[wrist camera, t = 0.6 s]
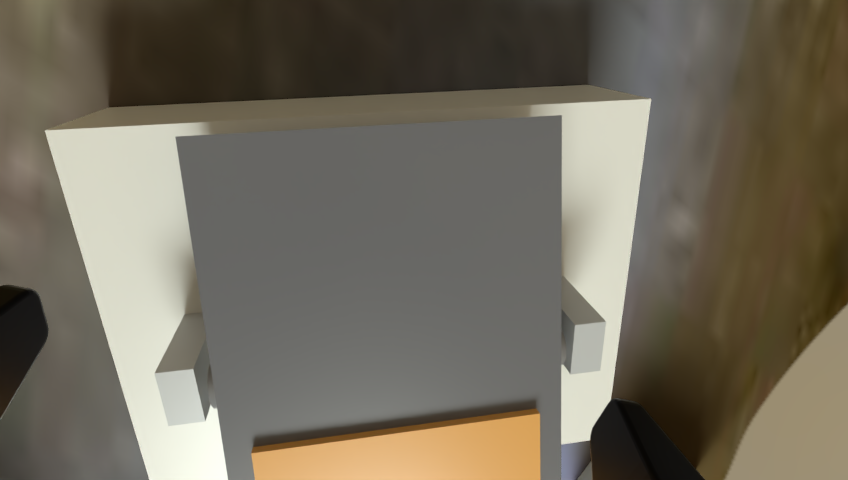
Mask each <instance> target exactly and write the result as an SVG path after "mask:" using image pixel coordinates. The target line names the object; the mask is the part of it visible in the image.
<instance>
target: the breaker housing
mask: <svg viewBox="0 0 848 480" xmlns="http://www.w3.org/2000/svg"><path fill="white" fill-rule="evenodd" d="M650 104H651V99H650V98H645V97H641V96H636V95H632V94H628V93H623V92H619V91H614V90H610V89H605V88H601V87H596V86H592V85H573V86H552V87H531V88H510V89H489V90H467V91H446V92H425V93H404V94H383V95H362V96H340V97H319V98H298V99H277V100H256V101H235V102H213V103H192V104H171V105H150V106H129V107H108V108H105V109H103V110H100V111H97V112H94V113H92V114H89V115H86V116H83V117H81V118H78V119H75V120H72V121H70V122H67V123H64V124H61V125H58V126H56V127H53V128H50V129H47V130H45V133H46V136H47V139H48V143H49V146H50V149H51V153H52V156H53V159H54V163H55V166H56V169H57V173H58V176H59V179H60V183H61V186H62V189H63V193H64V196H65V199H66V203H67V206H68V209H69V213H70V216H71V220H72V223H73V226H74V230H75V233H76V236H77V240H78V243H79V246H80V250H81V253H82V256H83V260H84V263H85V266H86V270H87V273H88V276H89V280H90V283H91V286H92V290H93V293H94V296H95V300H96V303H97V306H98V310H99V313H100V316H101V320H102V323H103V326H104V330H105V333H106V336H107V340H108V343H109V346H110V350H111V353H112V356H113V360H114V363H115V366H116V370H117V373H118V376H119V380H120V383H121V386H122V390H123V393H124V396H125V400H126V403H127V406H128V410H129V413H130V416H131V420H132V423H133V426H134V430H135V433H136V436H137V440H138V443H139V446H140V450H141V453H142V456H143V460H144V463H145V466H146V470H147V473H148V476H149V480H228V476H227V470H226V463H225V457H224V450H223V444H222V437H221V431H220V424H219V418H218V411H217V408H215V409H214V408H213V407H212V406H211V404H210V400H209V396H208V385H207V379H208V369H209V364H210V359H209V353H208V346H207V340H206V333H205V327H204V320H203V314H202V307H201V301H200V294H199V288H198V281H197V275H196V268H195V262H194V255H193V249H192V242H191V236H190V229H189V223H188V216H187V210H186V203H185V196H184V190H183V183H182V177H181V170H180V164H179V157H178V151H177V144H176V138H175V137H176V136H194V135H212V134H231V133H249V132H267V131H285V130H303V129H321V128H339V127H357V126H375V125H393V124H411V123H429V122H447V121H465V120H483V119H501V118H519V117H538V116H556V115H562V281H561V328H562V331H563V334H564V337H565V342H566V359H565V362H564V364H563V365H561V444H568V443H574V442H581V441H588V440H590V435H591V431H592V428H593V426H594V424H595V423H596V421H597V420H598V418H599V417H600V415H601V414H602V412H603V410H604V409H605V407H606V406H607V404H608V403H609V402H610V401H611V395H612V388H613V380H614V373H615V365H616V358H617V350H618V343H619V335H620V328H621V321H622V313H623V306H624V298H625V291H626V283H627V276H628V268H629V261H630V253H631V246H632V239H633V231H634V224H635V216H636V209H637V201H638V194H639V186H640V179H641V171H642V164H643V157H644V149H645V142H646V134H647V127H648V119H649V112H650Z"/></svg>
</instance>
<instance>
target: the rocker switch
mask: <svg viewBox="0 0 848 480" xmlns="http://www.w3.org/2000/svg"><path fill="white" fill-rule="evenodd" d="M175 138H176V144H177V151H178V157H179V164H180V170H181V177H182V183H183V190H184V196H185V203H186V210H187V216H188V223H189V229H190V236H191V242H192V249H193V255H194V262H195V268H196V275H197V281H198V288H199V294H200V301H201V307H202V314H203V320H204V327H205V333H206V340H207V346H208V353H209V359H210V364H209V369H208V379H207V385H208V396H209V400H210V404H211V406H212V407H213V408H214V409H215V408H217V411H218V418H219V424H220V431H221V437H222V444H223V450H224V457H225V463H226V470H227V476H228V480H561V365H563V364H564V362H565V359H566V342H565V337H564V334H563V331H562V328H561V281H562V115H556V116H538V117H519V118H501V119H483V120H465V121H447V122H429V123H411V124H393V125H375V126H357V127H339V128H321V129H303V130H285V131H267V132H249V133H231V134H212V135H194V136H176V137H175Z"/></svg>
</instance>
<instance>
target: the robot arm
mask: <svg viewBox="0 0 848 480" xmlns="http://www.w3.org/2000/svg"><path fill="white" fill-rule="evenodd" d="M47 337H48V324H47V320H46V317H45V313H44V310H43V306H42V302H41V299H40V296H39V294H38V293H37V292H36V291H35V290H33V289H30V288H24V287H19V286H14V285H3V286H0V420H1V418H2V417H3V415H4V413H5V411H6V410H7V408H8V406H9V405H10V403H11V401H12V399H13V398H14V396H15V394H16V393H17V391H18V389H19V387H20V386H21V384H22V382H23V381H24V379H25V377H26V375H27V374H28V372H29V370H30V369H31V367H32V365H33V363H34V362H35V360H36V358H37V357H38V355H39V353H40V351H41V350H42V348H43V346H44V344H45V342H46V340H47ZM590 448H591V464H592V480H705V479H704V478H703V477H702V476H701V475H700V473H699V472H698V471H697V470H696V469H695V468H694V466H693V465H692V464H691V463H690V462H689V460H688V459H687V458H686V457H685V456H684V455H683V453H682V452H681V451H680V450H679V449H678V448H677V446H676V445H675V444H674V443H673V442H672V440H671V439H670V438H669V437H668V436H667V435H666V433H665V432H664V431H663V430H662V429H661V428H660V426H659V425H658V424H657V423H656V422H655V420H654V419H653V418H652V417H651V416H650V415H649V413H648V412H647V411H646V410H645V409H644V408H643V407H642V406H641V405H640V404H639V403H637V402H635V401H630V400H624V399H619V398H614V399H612V400H611V401H610V402H609V403H608V404H607V406H606V407H605V409H604V410H603V412H602V414H601V415H600V417H599V418H598V420H597V421H596V423H595V424H594V426H593V428H592V431H591V435H590Z"/></svg>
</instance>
